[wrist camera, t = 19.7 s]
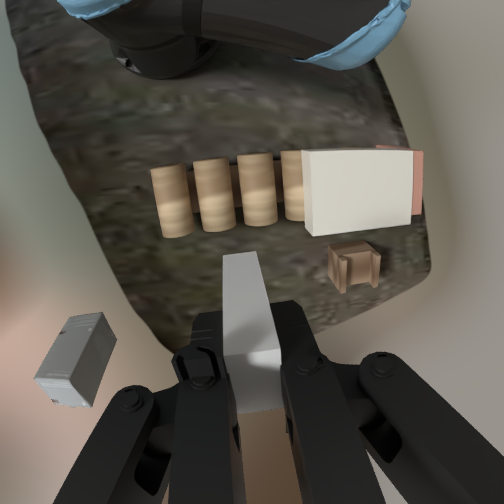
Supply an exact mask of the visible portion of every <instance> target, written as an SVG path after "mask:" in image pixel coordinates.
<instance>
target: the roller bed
mask: <svg viewBox="0 0 504 504" xmlns="http://www.w3.org/2000/svg"><path fill="white" fill-rule="evenodd" d="M301 150H309V149H292V150H283V151H280V153H281V160H274V161H273V156H272V152H258V153H248V154H242V155H238V156H237V161H238V164H237V165H229V161H228V157H216V158H209V159H203V160H198V161H194V162H193V166H194V170H193V171H187V172H186V170H185V163H177V164H171V165H166V166H161V167H157V168H154V169H151V176H152V181H153V187H154V193H155V198H156V203H157V209H158V214H159V219H160V224H161V229H162V233H163V236H164V237H167V238H175V237H181V236H185V235H187V234H190V233H192V232H193V231H194V230H195V226H194V220H193V214H192V213H198V212H200V213H201V219H202V225H203V230H205V231H208V232H218V231H224V230H228V229H231V228H233V227H235V226H236V217H235V209H234V208H235V207H243V213H244V221H245V224H246V225H249V226H265V225H270V224H273V223H275V222H277V221H278V213H277V202H285V215H286V218H287V219H289V220H293V221H305V212H304V190H303V171H302V156H301Z"/></svg>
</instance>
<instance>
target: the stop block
mask: <svg viewBox="0 0 504 504" xmlns="http://www.w3.org/2000/svg"><path fill="white" fill-rule="evenodd" d="M376 148H400V149H406V150H411V151H413V192H412V209H411V215H418V214H421V209H422V190H423V151H420V150H414V149H409V148H403V147H397V146H390V145H376Z"/></svg>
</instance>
